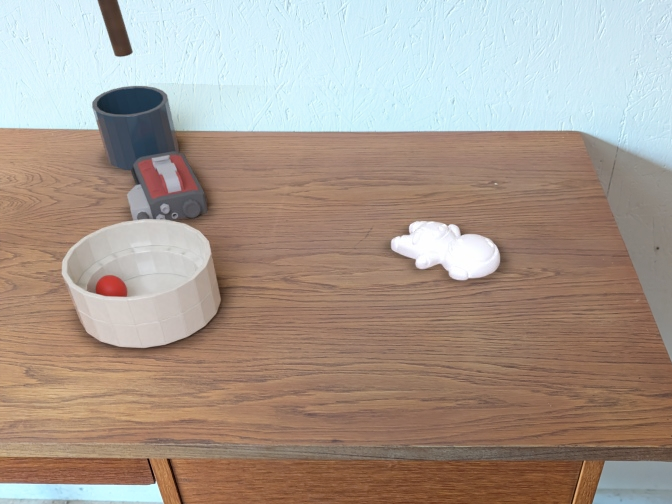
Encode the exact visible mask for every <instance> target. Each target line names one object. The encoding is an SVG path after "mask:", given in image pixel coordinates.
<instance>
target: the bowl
mask: <svg viewBox="0 0 672 504" xmlns="http://www.w3.org/2000/svg"><path fill="white" fill-rule="evenodd" d="M106 275H113V276H117V277H119V278H120V279H121V280H122V281H123V282H124V283H125V285H126V287H127V297H112V296H103V295H99V294H96V284H97V282H98V281H99V279H100V278H102V277H104V276H106ZM61 276H62V279H63V281H64V284H65V287H66V288H67V292H68V295H69V296H70V299H71V302H72V304H73V307H74V309H75V311H76V314H77V317H78V319H79V322H80V323H81V325H82V327H83V329H84V330H85V332H86V333H87V334H88V335H90V336H91V337H93V338H94V339H96V340H97V341H99V342H101V343H105V344H108V345H111V346H115V347H118V348H132V349H133V348H134V349H135V348H136V349H146V348H147V349H148V348H152V347H159V346H165V345H168V344H172V343H175V342H177V341H180V340H183V339H187V338H188V337H190V336H191V335H193V334H195V333H197V332H198V331H200V330H201V329H203V328H204V327H206V326H207V325H208V323H209V322H210V321H211V320H212V319H213V318H214V317H215V316H216V315H217V313H218V310H219V308H220V304H221V302H222V297H221V292H220V287H219V282H218V278H217V277H218V276H217V274H216V268H215V263H214V259H213V253H212V248H211V244H210V241H209V239H208V238H207V237H206V236H205V235H204V234H203V233H202V232H201V231H200V230H199V229H197V228H194V227H192V226H191V225H190V224H187V223H184V222H178V221H175V220H160V219H142V220H134V221H133V220H128V221H126V220H125V221H121V222H118V223H115V224H111V225H108V226H103V227H102V228H99V229H97V230H95V231H93V232H91V233H89V234H87V235H85V236H84V237H82V238H81V239H80V240H78V241H77V242H76V243H75V244H73V245H72V246H71V247H70V248H69V249H68V251H67V253H66V254H65V255H64V257H63V259H62V261H61Z"/></svg>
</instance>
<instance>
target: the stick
mask: <svg viewBox="0 0 672 504" xmlns="http://www.w3.org/2000/svg"><path fill="white" fill-rule="evenodd" d="M97 4H98V6H99V9H100V13H101V16H102V19H103V23H104V26H105V29H106V32H107V35H108V39H109V41H110V44H111V45H110V46H111V48H112V50H113V54H114V56H115V57H117V58H118V57H119V58H123V57H127V56H131V55H132V54H133V53H134V51H133V48H132V43H131V41H130V37H129V34H128V31H127V28H126V24H125V21H124V17H123V14H122V10H121V7H120V4H119V0H97Z"/></svg>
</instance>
